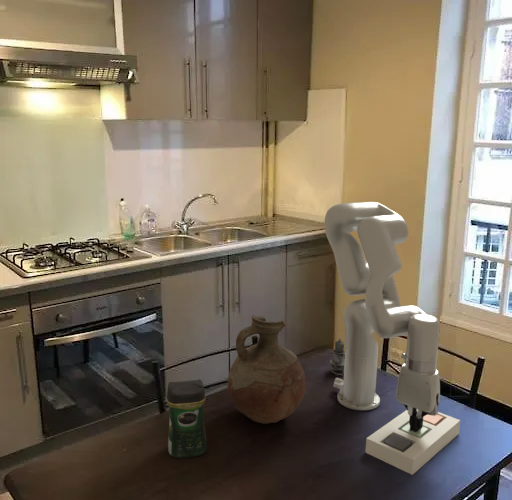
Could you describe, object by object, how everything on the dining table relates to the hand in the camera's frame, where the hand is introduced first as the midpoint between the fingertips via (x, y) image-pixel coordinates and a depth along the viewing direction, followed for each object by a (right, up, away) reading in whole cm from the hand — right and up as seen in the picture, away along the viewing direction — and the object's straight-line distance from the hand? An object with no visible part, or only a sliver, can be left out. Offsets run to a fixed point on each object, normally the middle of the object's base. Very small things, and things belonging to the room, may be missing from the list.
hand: (415, 429), depth 143 cm
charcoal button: (-6, -4, -5) cm, 9 cm away
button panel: (0, -4, +1) cm, 4 cm away
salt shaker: (-14, +5, +42) cm, 45 cm away
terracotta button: (+6, -1, +7) cm, 9 cm away
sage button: (0, -2, +1) cm, 3 cm away
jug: (-39, -1, +13) cm, 41 cm away
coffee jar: (-59, -4, -4) cm, 59 cm away
